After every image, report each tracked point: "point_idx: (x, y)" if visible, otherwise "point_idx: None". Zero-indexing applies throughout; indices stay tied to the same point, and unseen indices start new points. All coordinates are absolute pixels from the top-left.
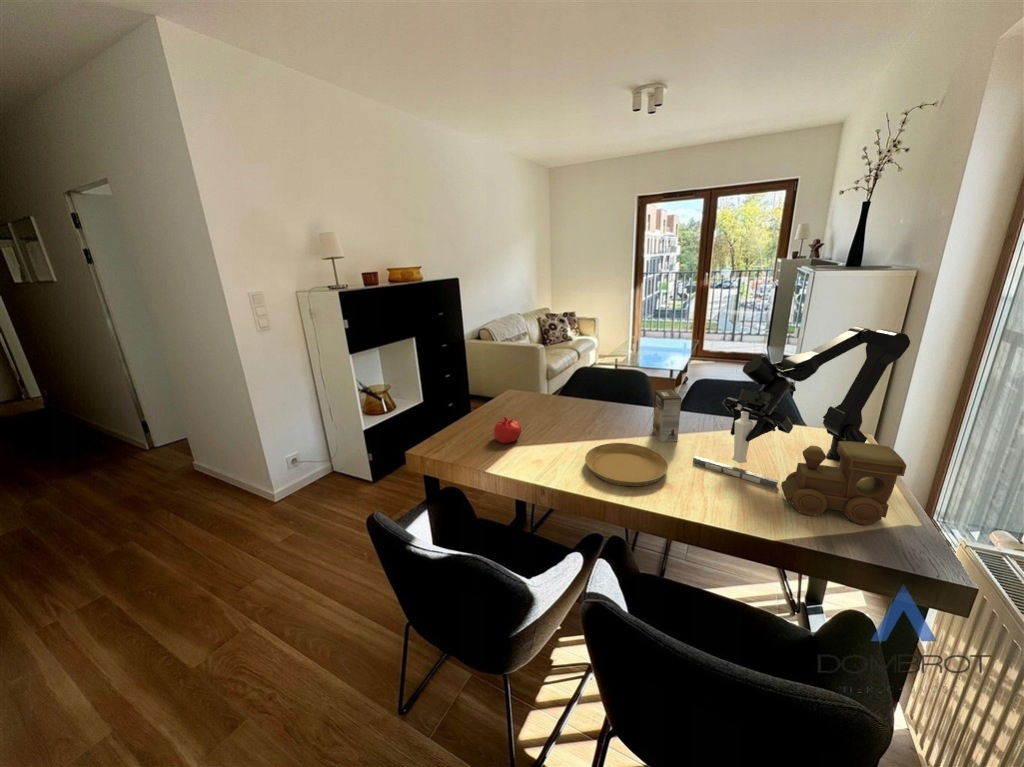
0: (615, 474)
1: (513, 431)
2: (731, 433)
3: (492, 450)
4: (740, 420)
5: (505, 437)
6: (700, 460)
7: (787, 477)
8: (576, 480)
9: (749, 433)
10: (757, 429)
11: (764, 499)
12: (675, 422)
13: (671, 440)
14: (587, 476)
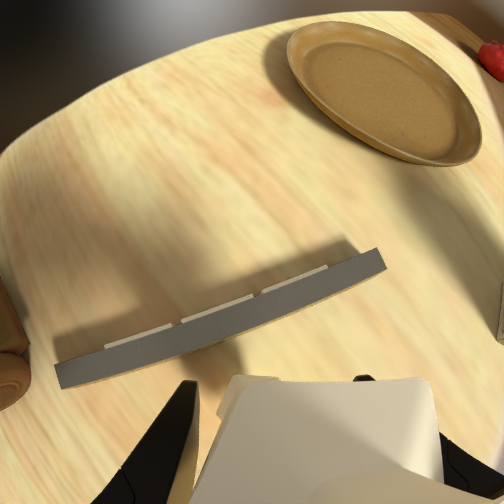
0: (361, 61)
1: (490, 50)
2: (359, 377)
3: (460, 43)
4: (375, 439)
5: (481, 49)
6: (350, 259)
7: (1, 357)
8: None
9: (180, 432)
10: (102, 493)
11: (57, 265)
12: None
13: (501, 317)
14: None
